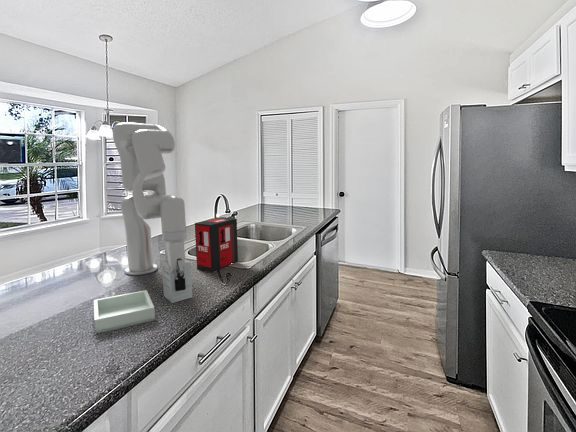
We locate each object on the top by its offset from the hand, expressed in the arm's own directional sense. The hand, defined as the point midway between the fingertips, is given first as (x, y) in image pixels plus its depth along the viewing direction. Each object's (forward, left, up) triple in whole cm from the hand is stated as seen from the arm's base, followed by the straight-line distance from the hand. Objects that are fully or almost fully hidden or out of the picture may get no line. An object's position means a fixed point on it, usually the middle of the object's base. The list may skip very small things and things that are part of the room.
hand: (177, 285), depth 112 cm
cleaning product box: (-26, +23, -4) cm, 35 cm away
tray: (+6, -17, -4) cm, 18 cm away
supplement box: (0, 0, -4) cm, 4 cm away
